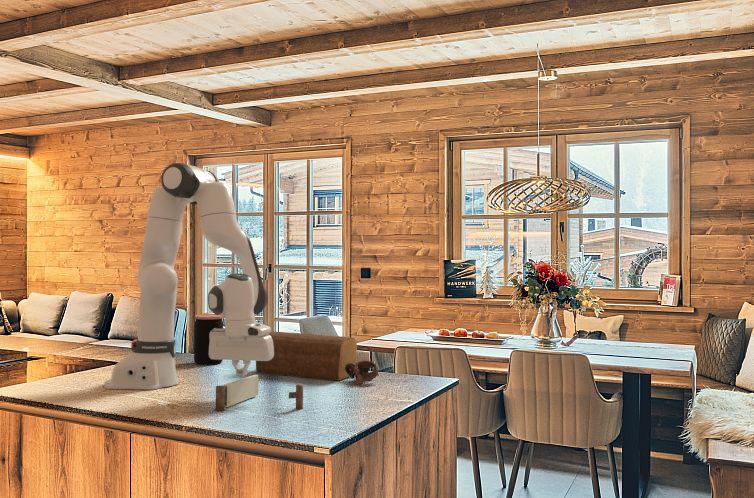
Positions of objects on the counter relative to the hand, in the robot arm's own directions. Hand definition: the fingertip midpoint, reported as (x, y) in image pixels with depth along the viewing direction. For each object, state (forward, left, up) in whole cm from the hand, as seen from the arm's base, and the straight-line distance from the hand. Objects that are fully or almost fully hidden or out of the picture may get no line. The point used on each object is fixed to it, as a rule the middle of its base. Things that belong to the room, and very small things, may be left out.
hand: (241, 374), depth 209 cm
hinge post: (-5, -17, -6) cm, 19 cm away
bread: (+22, +36, -7) cm, 42 cm away
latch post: (+15, -17, -6) cm, 24 cm away
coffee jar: (-13, +60, -7) cm, 62 cm away
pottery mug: (+39, +19, -7) cm, 44 cm away
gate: (0, -7, -6) cm, 10 cm away
